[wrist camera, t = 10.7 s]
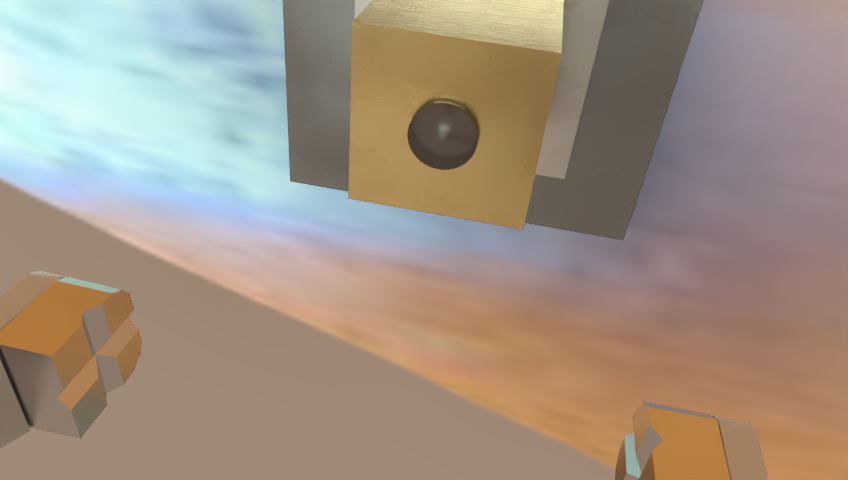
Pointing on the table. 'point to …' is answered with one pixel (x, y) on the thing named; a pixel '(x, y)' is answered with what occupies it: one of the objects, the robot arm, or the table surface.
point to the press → (568, 115)
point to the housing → (452, 104)
